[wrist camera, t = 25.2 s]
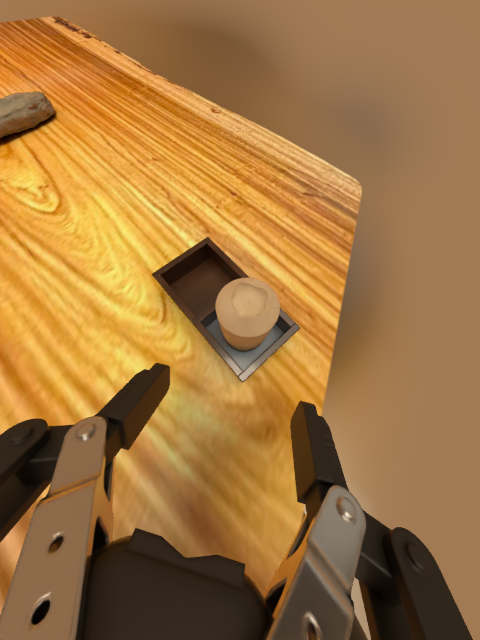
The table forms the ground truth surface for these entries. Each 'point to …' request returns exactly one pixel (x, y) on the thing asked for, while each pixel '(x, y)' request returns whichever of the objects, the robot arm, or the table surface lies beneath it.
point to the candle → (246, 312)
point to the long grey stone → (23, 111)
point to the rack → (200, 299)
